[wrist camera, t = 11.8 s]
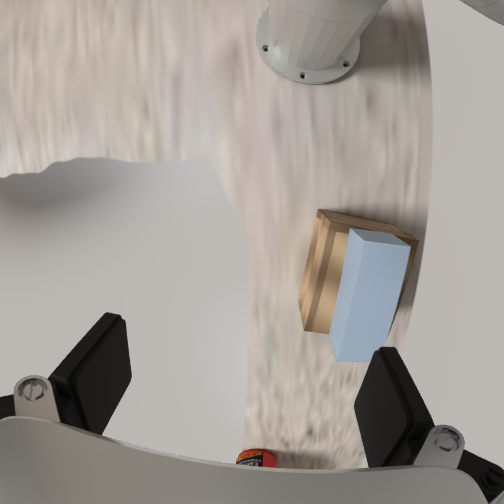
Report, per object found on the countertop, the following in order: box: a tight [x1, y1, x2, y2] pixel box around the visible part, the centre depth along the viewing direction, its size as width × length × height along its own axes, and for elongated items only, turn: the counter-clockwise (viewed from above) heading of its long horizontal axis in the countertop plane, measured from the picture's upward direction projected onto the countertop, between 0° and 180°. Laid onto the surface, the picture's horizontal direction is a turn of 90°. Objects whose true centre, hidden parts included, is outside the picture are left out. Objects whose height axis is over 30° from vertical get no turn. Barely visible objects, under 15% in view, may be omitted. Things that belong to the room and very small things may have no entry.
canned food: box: [236, 449, 277, 468], centre depth 46 cm, size 8×8×11 cm
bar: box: [329, 228, 411, 362], centre depth 29 cm, size 12×4×5 cm, turn 175°
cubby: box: [298, 209, 419, 337], centre depth 36 cm, size 12×10×8 cm
